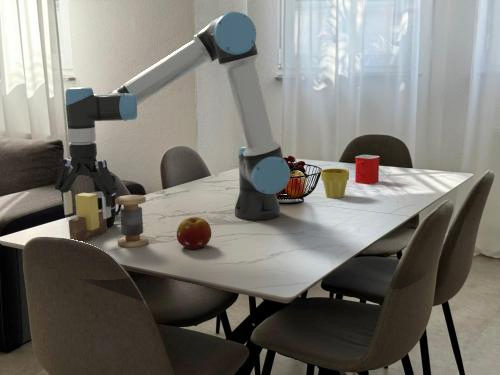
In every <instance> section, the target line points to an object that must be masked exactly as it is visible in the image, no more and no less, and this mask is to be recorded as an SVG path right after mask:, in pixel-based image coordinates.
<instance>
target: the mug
mask: <svg viewBox="0 0 500 375" xmlns="http://www.w3.org/2000/svg"><path fill="white" fill-rule="evenodd" d="M91 193H92V194H97V200H98V209H103V205H102V196H104V194H103V192H95V191H93V192H91ZM116 194H117V193H114V194H112V206H111V217H109V218H106V222H107V229H108V228H111V227H113V226H114V225H115V221H116V217H117V216H118V215H119V214H120V209H121V208H122V205H118V204H116V203H115V198H117V197H118V196H116ZM117 206H118V207H117ZM116 208H117V209H116Z"/></svg>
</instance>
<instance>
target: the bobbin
mask: <svg viewBox="0 0 500 375" xmlns="http://www.w3.org/2000/svg"><path fill="white" fill-rule="evenodd" d="M116 197H117V198H115V203H116V205H117V206H118V205H121V206H123V207H121V209H120V212H119V214H120V231H121V235H122V237H120V238H118V239H117V245H118V246H119V247H120V248H130V249H131V248H137V247H138V248H139V247H143V246H146V245H148V243H149V238H148V237H147V236H144V235H142V234H143V233H144V221H143V207H141V206H139V205H141V204H144V203H146V201H147V197H146V196H145V195H141V194H129V195H128V194H127V195H120V196H116Z"/></svg>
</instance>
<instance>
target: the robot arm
mask: <svg viewBox="0 0 500 375" xmlns="http://www.w3.org/2000/svg"><path fill="white" fill-rule="evenodd" d="M256 39H257V29H256V26H255V22H253V20H252V19H251V18H250V17H249V16H248V15H246V14H245V13H243V12H240V11H226V12H224V13H222V14H221V15H219V16H217V17H216V18H214V19H213V20H212V21H211V22H209V23H208V24H207V25H206V26H205V27H204V28H203V29H201V30H200V31H199V32H197V33H196V34H194V35H193V38H192V40H190V42H188V43H186V44H185V45H183V46H181V47H180V48H179V49H177V50H175V51H174V52H172V53H170V55H169V54H168V55H167V56H166V57H165V58H162V59H161V60H160V61H158V62H157V63H155V64H153V65H152V66H149V68H147V69H146V70H144V71H142V72H141V73H139V74H138V75H136V76H134V77H133V78H132V79H130V80H128V81H127V82H125V83H124V84H122V85H120V86H119V87H118V88H116V89H114V90H112V91H110V92H108V93H104V94H103V93H102V94H100V93H99V94H98V93H94V90H93V88H92V87H84V86H83V87H81V86H79V87H68V88H67V89H66V90H65V112H66V113H65V114H66V124H67V137H68V142H69V143H70V144H69V145H68V150H69V157H67V158H62V159H61V168H60V170H59V174H58V176H57V180H56V183H55V186H54V189H55V190H56V191H60V193H61V194H60V196H61V203H63V210H64V215H65V216H66V215H70V214H73V213H74V210H73V209H74V208H73V197H72V191H71V190H70V189H71V187H72V185H73V184H74V182H75V181H76V179H77V178H78V176H84V177H89V178H90V179H92V181H93V180H94V182H95V183H96V184H97V186H98V187H99V188H100V190H101V191H102V192H103V194H104V196H102V205H103V219H106V218H109V217H111V206H112V194H114V193H115V194H117V193H118V192H119V190H118V188H117V185H116V182H115V183H114V181H113V179H112V177H111V175H112V174H111V172H110V170H109V168H108V164H107V160H106V159H102V160H97V155H98V149H97V143H96V141H97V137H96V136H97V135H96V134H97V133H96V122H102V121H103V122H104V121H105V122H107V121H110V122H111V121H124V122H127V121H133V120H136V119H137V118H138V106H139V105H140V104H143V102H145V101H147V100H149V99H150V98H152V97H153V96H154V95H155V96H156V94H158V93H160V92H161V91H162V90H164V89H166V88H167V87H170V85H172V84H174V83H175V82H176V81H178V80H180V79H182V78H184V77H185V76H186V75H188V74H190V73H191V72H193V71H194V70H196V69H197V68H199V67H201V66H202V65H204V64H205V63H209V64H210V63H213V62H214V61H216V60H218V64H219V66H221V67H222V68H224V69H225V71H226V73H227V74H226V75H227V78H228V83H229V86H230V90H231V94H232V98H233V101H234V105H235V109H236V113H237V116H238V120H239V125H240V128H241V129H240V130H241V131H242V132H241V133H242V137H243V141H244V144H245V146H241V147H240V148H239V150H238V155H237V157H238V174H239V175H238V176H239V177H238V178H239V179H238V180H239V181H238V182H239V185H238V186H239V192H238V193H239V194H238V195H237V199H236V203H235V204H234V205H235V206H234V216H235V217H237V218H239V219H244V220H252V221H253V220H255V221H256V220H257V221H258V220H269V219H270V220H271V219H276V218H277V217H279V216H280V215H281V206H280V204H279V200H278V197H277V193H280V192H281V191H283V190H284V189H285V188H286V187H287V185H288V183H289V182H290V178H291V168H290V167H289V164H288V163H287V162H286V160H285V158H284V155H283V151H282V147H281V144H280V143H279V142H277V141H276V140H275V139H274V135H273V132H272V128H271V123H270V120H269V116H268V111H267V108H266V104H265V99H264V94H263V91H262V87H261V82H260V79H259V78H260V77H259V75H258V71H257V66H256V63H255V62H256V60H257V58H258V56H259V52H258V47H257V45H256ZM71 167H72V168H71ZM70 169H71V171H70ZM101 176H102V177H101Z"/></svg>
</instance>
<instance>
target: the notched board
mask: <svg viewBox="0 0 500 375" xmlns="http://www.w3.org/2000/svg"><path fill="white" fill-rule="evenodd" d="M98 215H99V228H97V229H94V230H86V223H85V217H77V216H76V217H73V218H71V219H69V220H68V229H69V230H68V231H69V240H70V239H74V240H78V241H83V243H85V242H88V241H91V240H93V239H94V238H97V237H99V236H101V235H104V234H106V233H108V228H107V222H106V219H103V209H98Z"/></svg>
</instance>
